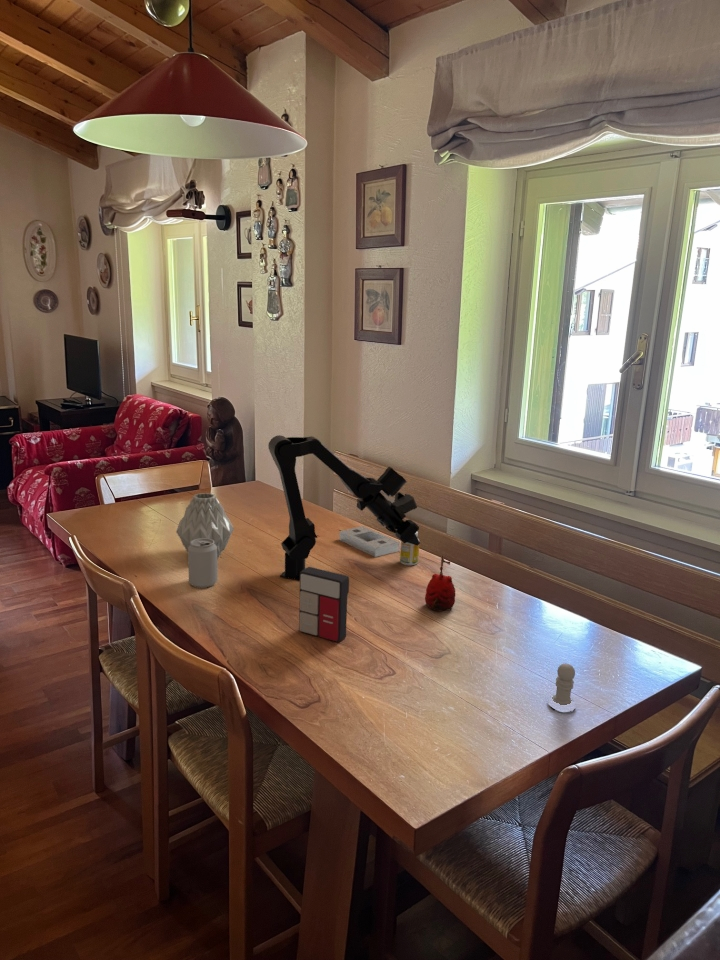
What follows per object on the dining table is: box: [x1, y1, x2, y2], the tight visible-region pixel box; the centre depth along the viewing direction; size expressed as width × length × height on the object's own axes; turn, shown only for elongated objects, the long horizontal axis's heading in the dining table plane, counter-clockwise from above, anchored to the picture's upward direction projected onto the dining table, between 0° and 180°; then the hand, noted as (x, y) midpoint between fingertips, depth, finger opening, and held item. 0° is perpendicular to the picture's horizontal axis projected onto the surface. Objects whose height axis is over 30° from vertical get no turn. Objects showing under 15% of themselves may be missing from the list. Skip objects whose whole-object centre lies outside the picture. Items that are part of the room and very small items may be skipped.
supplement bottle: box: [399, 531, 421, 567], centre depth 208 cm, size 5×5×10 cm
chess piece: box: [552, 662, 576, 705], centre depth 137 cm, size 5×5×9 cm
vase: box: [175, 492, 235, 559], centre depth 207 cm, size 16×16×18 cm
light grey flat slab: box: [338, 525, 400, 558], centre depth 222 cm, size 18×10×3 cm, turn 38°
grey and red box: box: [298, 566, 350, 643], centre depth 162 cm, size 11×4×15 cm, turn 62°
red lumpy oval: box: [424, 555, 456, 612], centre depth 178 cm, size 8×7×15 cm
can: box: [187, 538, 218, 589], centre depth 188 cm, size 8×8×12 cm
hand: (414, 541), depth 208 cm, fingers closed on supplement bottle, 5 cm apart
